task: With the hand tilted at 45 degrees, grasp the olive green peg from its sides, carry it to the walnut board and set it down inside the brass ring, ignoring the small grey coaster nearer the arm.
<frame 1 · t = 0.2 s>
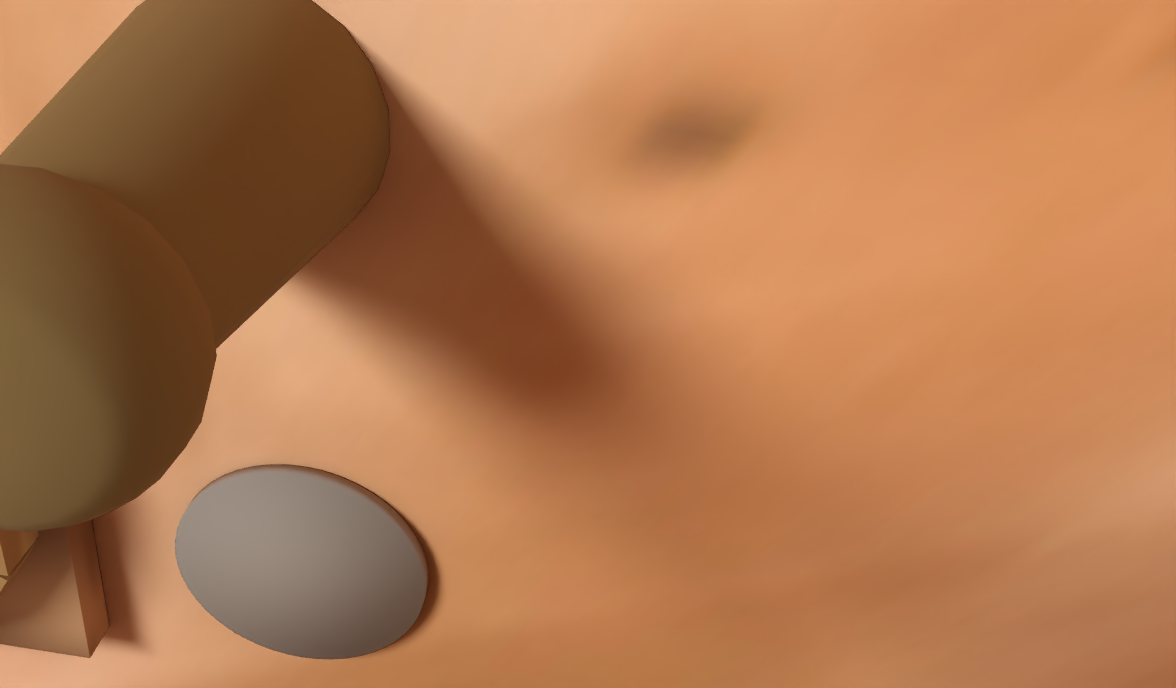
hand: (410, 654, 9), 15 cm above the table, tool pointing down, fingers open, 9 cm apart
olive green peg: (254, 114, 23), on the table
grey coaster: (304, 562, 30), on the table
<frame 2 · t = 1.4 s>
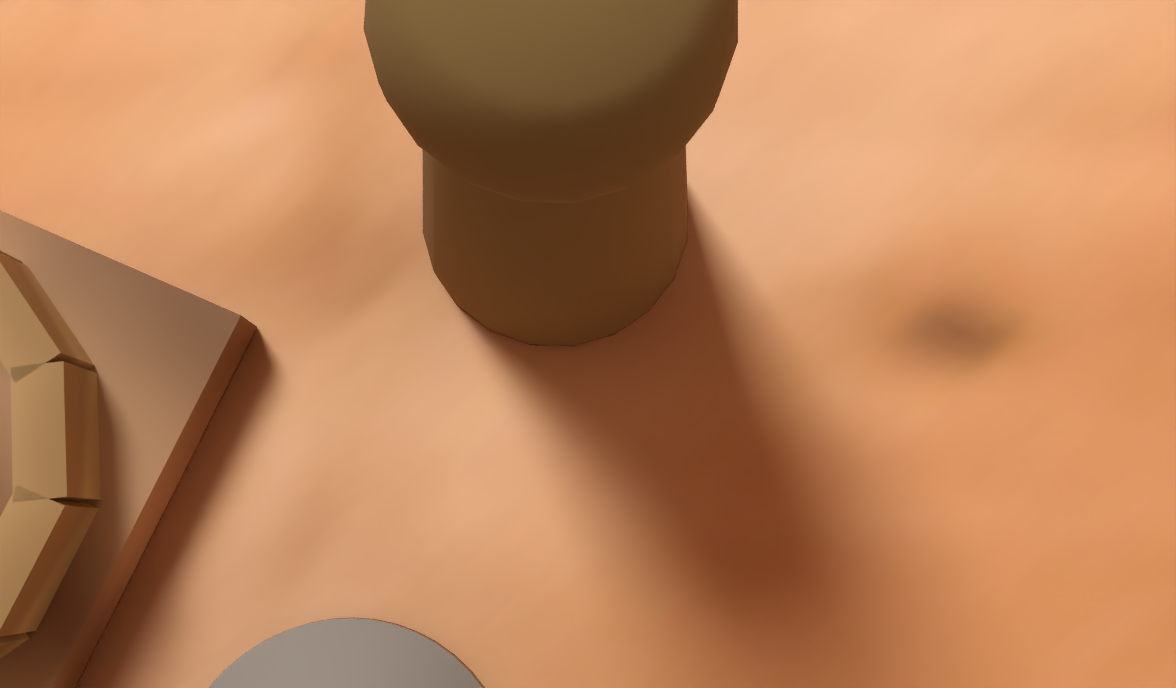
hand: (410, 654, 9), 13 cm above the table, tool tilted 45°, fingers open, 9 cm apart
olive green peg: (556, 218, 24), on the table
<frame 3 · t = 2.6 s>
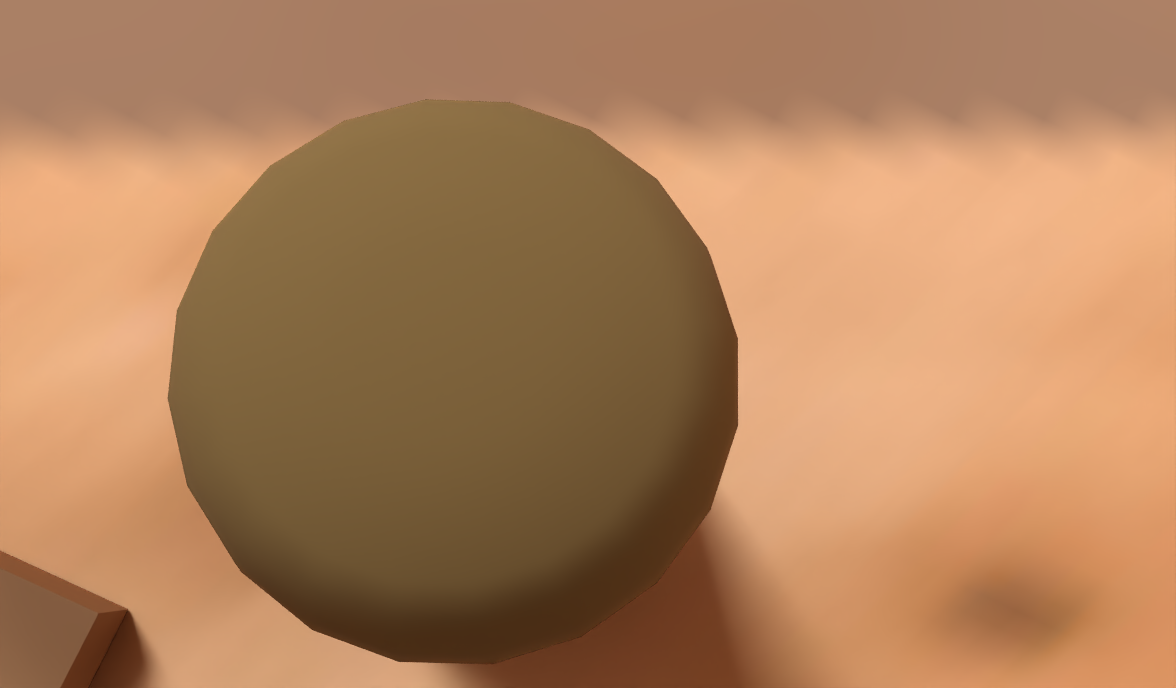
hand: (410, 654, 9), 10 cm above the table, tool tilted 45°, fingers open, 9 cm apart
olive green peg: (509, 461, 19), on the table
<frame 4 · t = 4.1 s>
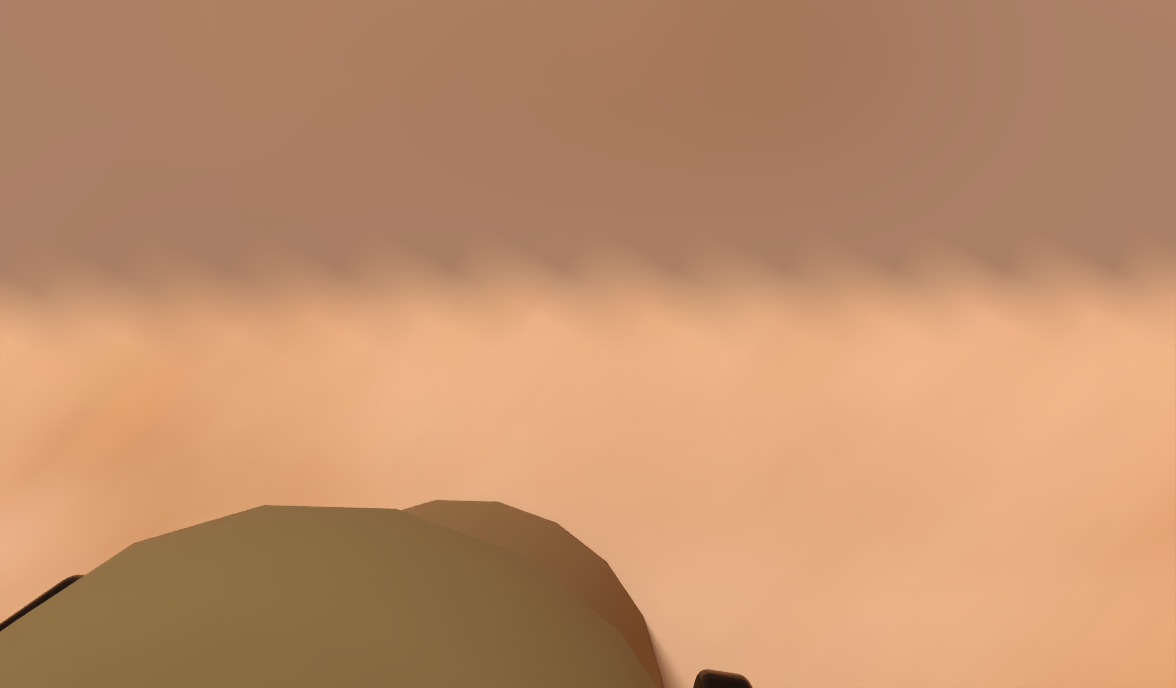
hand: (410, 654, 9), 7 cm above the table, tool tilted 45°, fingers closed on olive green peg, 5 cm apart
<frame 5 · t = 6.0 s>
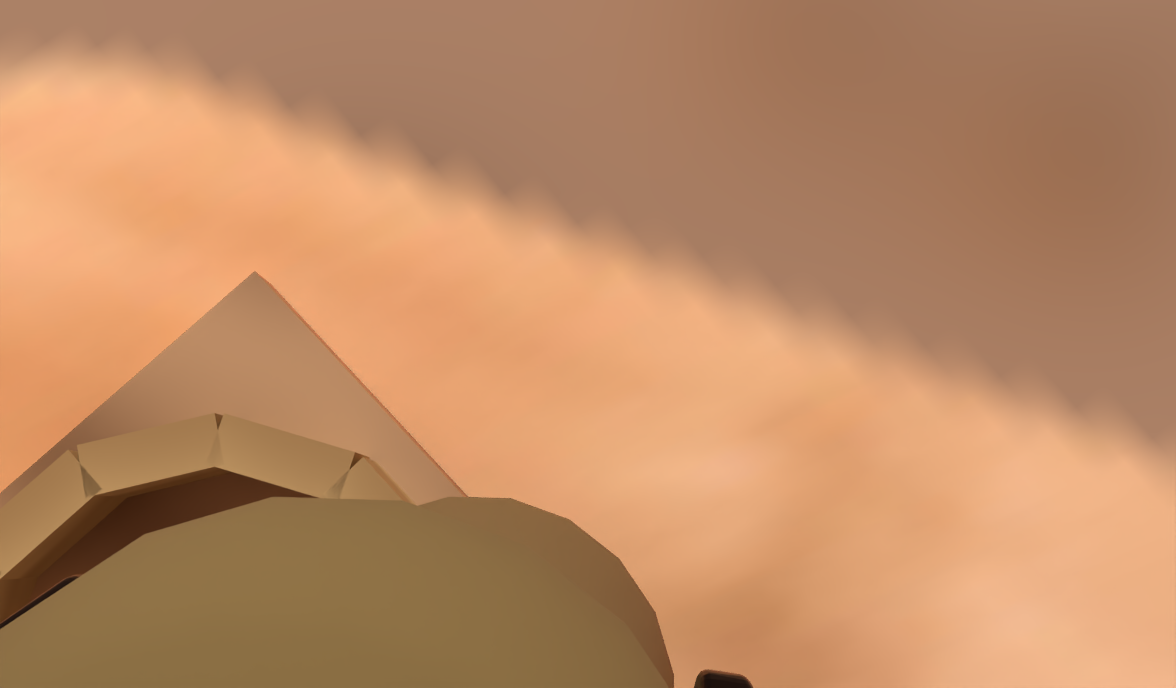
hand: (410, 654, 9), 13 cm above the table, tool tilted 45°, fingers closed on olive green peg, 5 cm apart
hub board: (239, 686, 22), on the table
when the fingers open (9 cm above the table, at t = 7.7 s): olive green peg drops 1 cm, resting on hub board.
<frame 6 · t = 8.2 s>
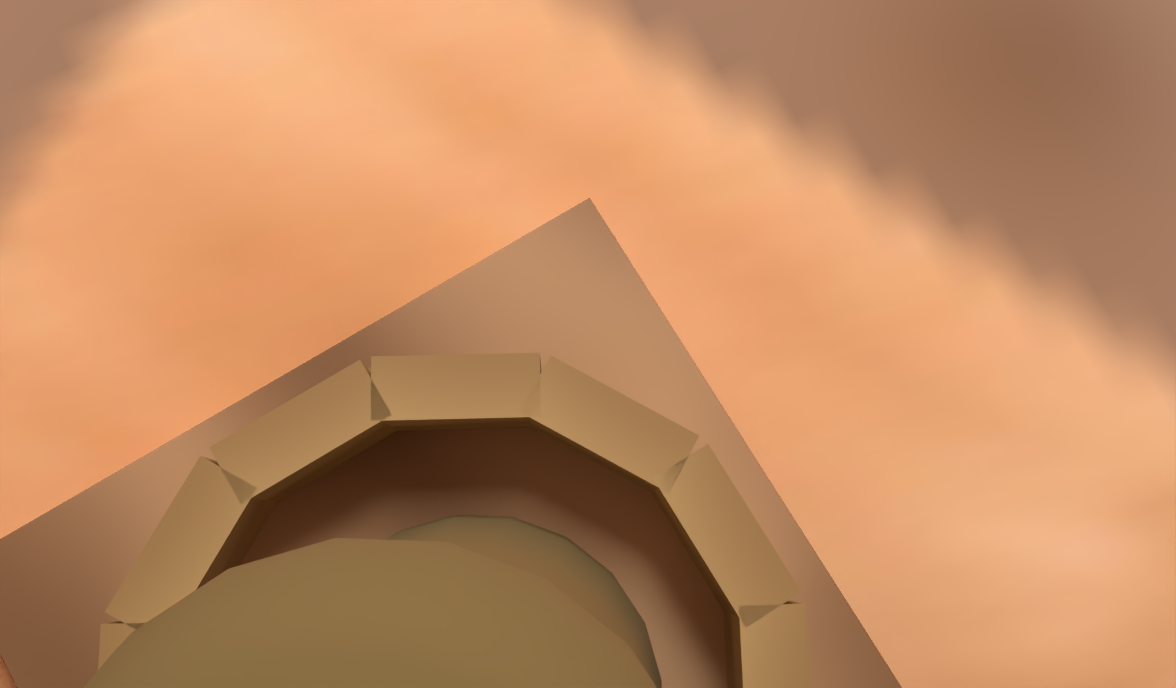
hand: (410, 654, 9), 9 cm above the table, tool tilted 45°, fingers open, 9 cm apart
hub board: (472, 681, 18), on the table
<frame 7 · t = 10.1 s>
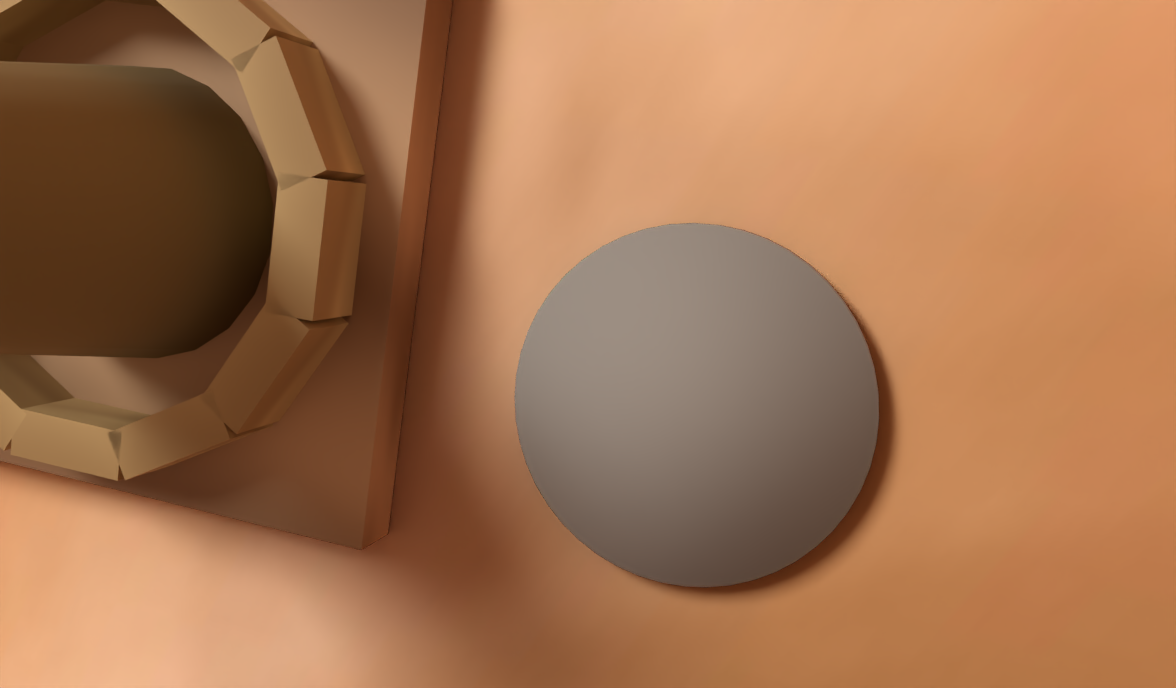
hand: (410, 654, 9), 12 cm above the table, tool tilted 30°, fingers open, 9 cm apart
olive green peg: (151, 213, 22), point 1 cm above the table, touching hub board
hub board: (171, 213, 23), on the table
grey coaster: (692, 404, 20), on the table
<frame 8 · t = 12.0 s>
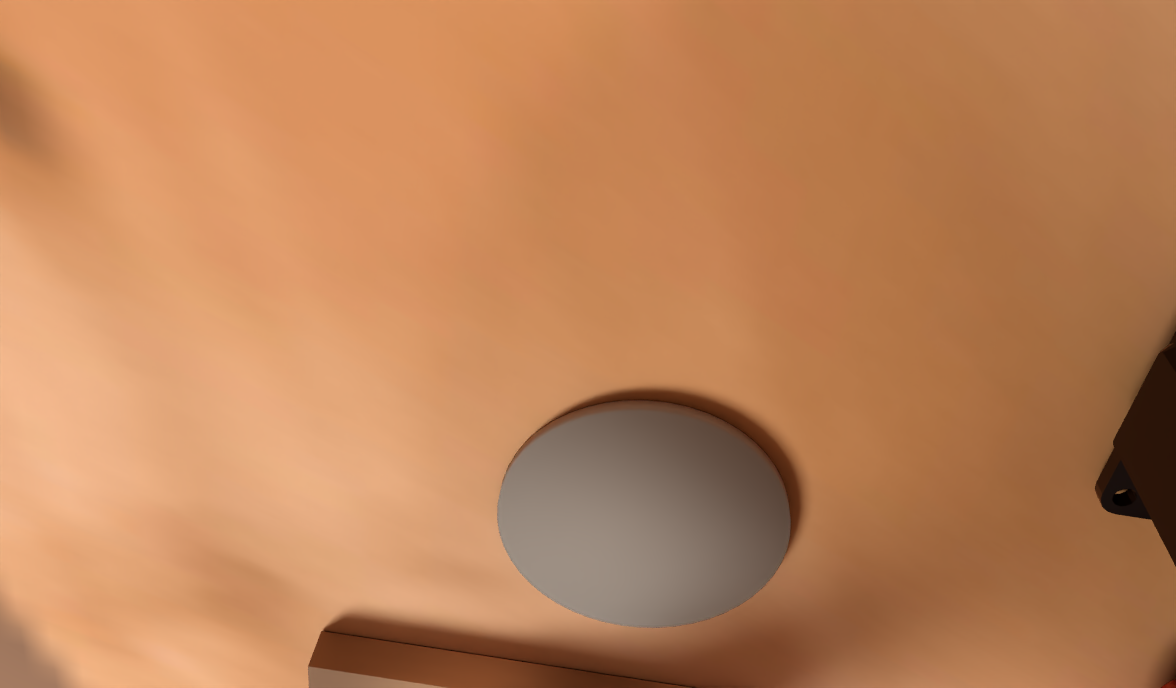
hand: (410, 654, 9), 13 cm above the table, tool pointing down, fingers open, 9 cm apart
grey coaster: (642, 516, 26), on the table
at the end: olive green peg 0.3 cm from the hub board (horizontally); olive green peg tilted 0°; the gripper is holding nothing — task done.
